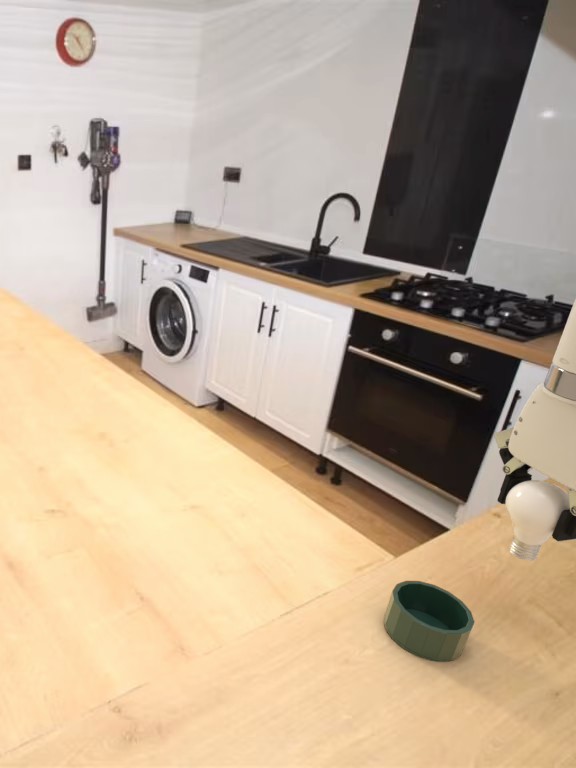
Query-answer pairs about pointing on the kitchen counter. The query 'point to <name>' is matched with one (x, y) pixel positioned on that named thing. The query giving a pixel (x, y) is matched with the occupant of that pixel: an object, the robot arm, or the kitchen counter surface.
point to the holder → (428, 621)
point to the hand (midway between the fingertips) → (536, 518)
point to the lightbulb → (534, 515)
